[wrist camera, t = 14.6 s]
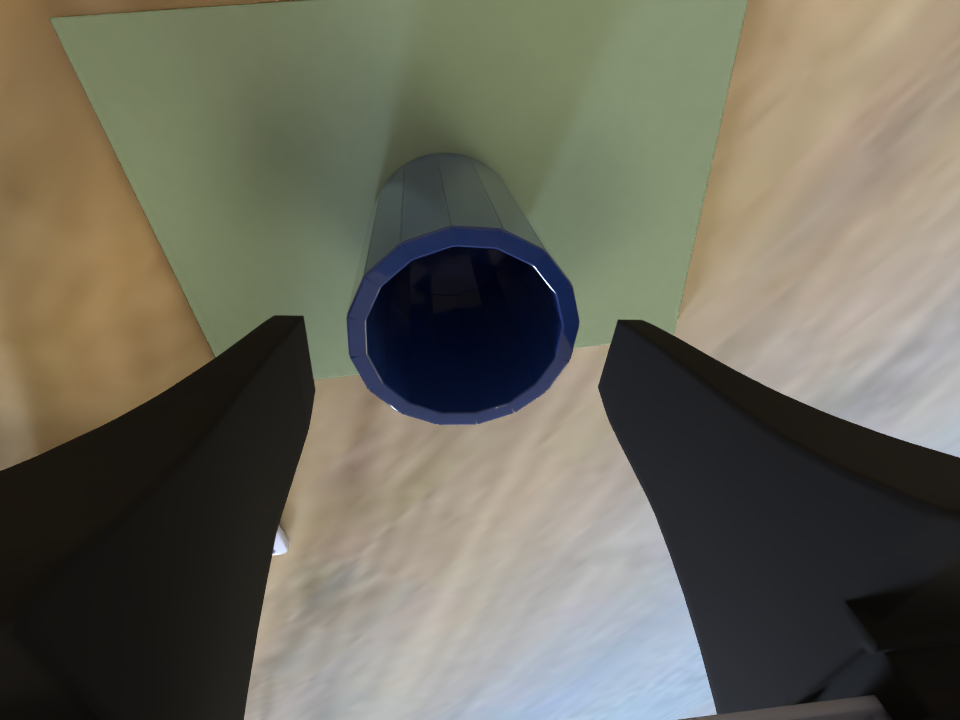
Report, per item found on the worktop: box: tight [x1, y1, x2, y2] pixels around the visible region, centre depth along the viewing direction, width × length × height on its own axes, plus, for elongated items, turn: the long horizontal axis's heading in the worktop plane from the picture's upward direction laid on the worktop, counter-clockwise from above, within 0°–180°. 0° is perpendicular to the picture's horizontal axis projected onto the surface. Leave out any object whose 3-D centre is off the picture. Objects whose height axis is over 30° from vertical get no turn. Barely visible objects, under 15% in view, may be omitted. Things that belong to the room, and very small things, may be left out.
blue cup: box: [346, 153, 580, 425], centre depth 14 cm, size 6×6×8 cm
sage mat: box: [50, 0, 748, 380], centre depth 17 cm, size 20×13×1 cm, turn 93°
